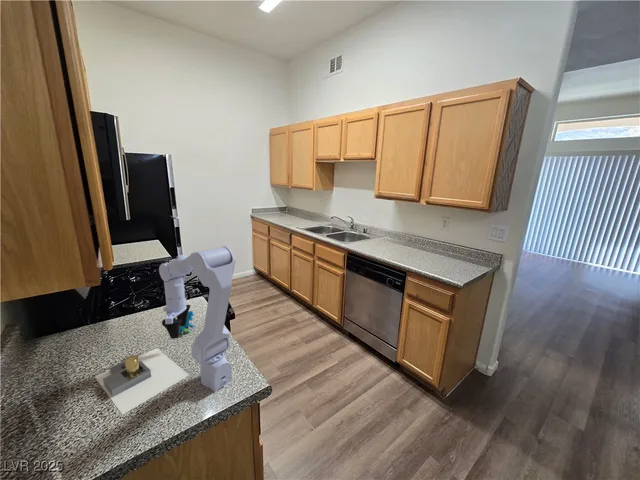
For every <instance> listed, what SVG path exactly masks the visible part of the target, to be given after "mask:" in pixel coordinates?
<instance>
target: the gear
mask: <svg viewBox="0 0 640 480" xmlns="http://www.w3.org/2000/svg"><path fill="white" fill-rule="evenodd" d="M194 315H195V313H194V312H193V310H189V311H188V315H187V321H186V325H185V326H180V327H179V335H181V334H182V332H184V333H186V334H190V333H192V330H191V331H190V328H195V325H193V324H191V322H190V321H193V319H194Z"/></svg>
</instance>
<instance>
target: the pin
mask: <svg viewBox="0 0 640 480" xmlns="http://www.w3.org/2000/svg"><path fill="white" fill-rule="evenodd" d="M138 357H139V356H138V355H136V354H134V355H133V354H132V355H129V356H127V357H126V358H125V359H124V361H125V366H126V372H127V378H128V379H130V378H132V377H134V376H136V375H138V374H140V370H139V363H138Z"/></svg>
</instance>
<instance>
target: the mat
mask: <svg viewBox="0 0 640 480" xmlns="http://www.w3.org/2000/svg"><path fill="white" fill-rule="evenodd" d="M138 361H142V362H143V363H144V364H145V365H146V366H147V367H148V368H149V369H150V370H151V377H150V378H148V379H146V380H144V381H142V382H141V383H139V384H137V385H135V386H133V387H131V388H129V389H127V390H125V391H124V392H122V393H120V394H118V395H116V396H114V397H112V396H111V394H110V393H109V392H108V390H107V389H106V387H105V386H104V382H103V378H106V377H108V376H110V375H112V374H111V373H110V371H109V369H108V370H106V371H104V372H102V373H100V374H98V375H96V376H94V378H95V379H96V381H97V382H98V384H100V386H101V388H102V389H103V390H104V391H105V393H106V394H107V395H108V397H109V398H110V400H111V401H112V402H113V404H114V405H115V407H116V409H118V411H119V412H120V414H121V415H125V414H126V413H127V412H130V411H131V410H133V409H134V408H137V406H139V405H141V404H143V403H145V402H147V401H148V400H150V399H152V398H153V397H155V396H157V395H158V394H160V393H162V392H163V391H165V390H167V389H169V388H170V387H172V386H173V385H175V384H177V383H178V382H180V381H182V380H183V379H185V378H187V377H188V376H190V375H189V373H187V372H186V371H185V370H184V369H182V368H181V367H180V366H179V365H178V364H177V363H175V362H174V361H173V360H172V359H171V358H170V357H168V355H166V354H165V353H164V352H162V351H161V349H159V348H155V349H152V350H150V351H148V352H146V353H144V354H141V355H139V356H138ZM140 373H142V372H141V371H140ZM125 379H126V380H128V378H127V377H125Z"/></svg>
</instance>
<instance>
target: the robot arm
mask: <svg viewBox="0 0 640 480" xmlns="http://www.w3.org/2000/svg"><path fill="white" fill-rule="evenodd" d="M235 266H236V258H235V255H234V253H233V251H232V250H231V248H230V247H229V246H225V245H224V246H220V247H216V248H215V247H213V248H210V249H205V250H199V251H195V252H191V253H190V255H183V254H180V255H179V254H178V255H177V256H176V258H173V259H171V260H170V262H167V263H161V264H160V265H159V268H158V272H159V276H160V278H161V279H162V281H163V285H164V286H163V287H164V295H165V305H166V306H165V307H164V308H163V309H162V310H163V312H165V318H164V319H163V320H162V321H161V325H162V326H163V327H164V328H165V329H166V331H167V333H168V335H169V337H170V339H171V340H172V339H175V340H176V339H178V338H179V335H180V334H179V327H180V326H185V325H186V321H187V315H188V311H189V312H190V308H191V305H190V304H188V303H187V302H188V301H187V298H186V294H185V282H186V275H188V274H190V273H191V272H194V274H195V276H197V278H198V280H199V281H200V283H201V284H202V286H203V287H208V288H209V293H208V298H207V299H208V300H207V307H206V313H205V318H204V319H205V320H204V326H203V330H202V331H200V333H199V334H197V336H196V337H194V338H195V339H194V342H193V343H192V346H191V355H192V358H193V359H194V360H195V362H197V363H198V364H199V373H200V383H201V385H202V386H204V387H206V388H208V389H210V390H212V392H214V393H216V392H218V391H219V390H221V389H222V388H223V387H225V386H226V385H227V384H228V385H229V383H231V382H232V381H233V376H232V374H233V373H232V365H231V363H230V362H229V361H228V359H226V356H225V354H226V353H227V349H229V348H230V346H231V345H230V344H231V339H230V335H231V334H230V331H229V330H228V329H227V328H226V327H225V322H226V317H227V311H228V307H229V303H230V297H231V291H232V287H233V286H232V285H233V281H232V280H233V279H232V278H233V276H234V270H235Z"/></svg>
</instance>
